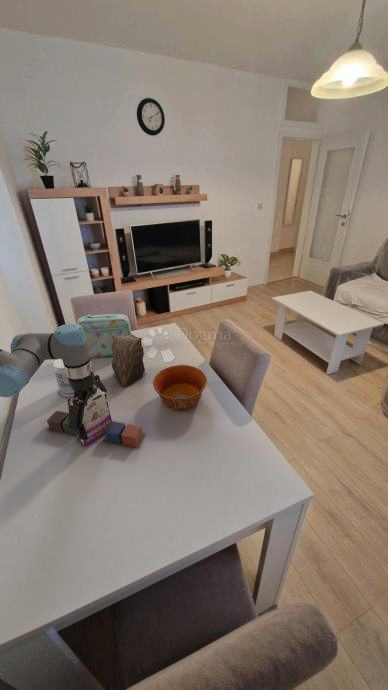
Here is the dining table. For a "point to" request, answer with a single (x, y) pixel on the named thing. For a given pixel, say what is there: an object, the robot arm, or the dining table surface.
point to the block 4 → (132, 435)
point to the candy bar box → (96, 416)
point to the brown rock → (127, 358)
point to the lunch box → (103, 332)
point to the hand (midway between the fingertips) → (93, 425)
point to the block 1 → (57, 421)
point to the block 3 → (114, 432)
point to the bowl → (180, 385)
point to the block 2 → (65, 426)
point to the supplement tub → (62, 378)
